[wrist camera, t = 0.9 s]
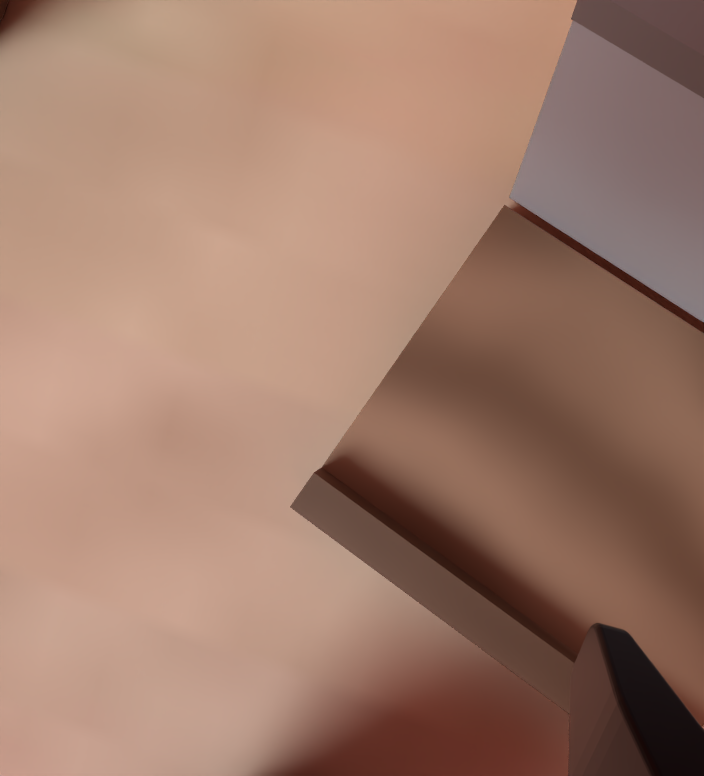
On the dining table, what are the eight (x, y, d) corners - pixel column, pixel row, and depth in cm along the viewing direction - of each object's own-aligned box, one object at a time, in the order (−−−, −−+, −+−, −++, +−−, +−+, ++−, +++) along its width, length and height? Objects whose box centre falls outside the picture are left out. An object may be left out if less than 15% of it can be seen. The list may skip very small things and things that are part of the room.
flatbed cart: (652, 746, 24) (682, 798, 21) (307, 492, 26) (290, 507, 23) (877, 459, 23) (943, 471, 20) (500, 215, 24) (508, 192, 21)
